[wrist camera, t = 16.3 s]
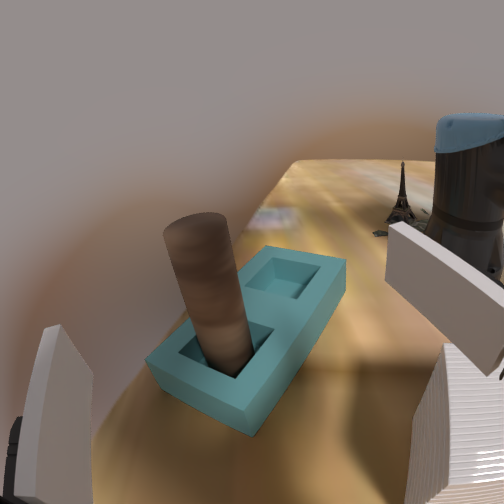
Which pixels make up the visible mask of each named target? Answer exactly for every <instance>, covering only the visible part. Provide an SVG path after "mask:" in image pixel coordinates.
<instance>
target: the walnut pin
mask: <svg viewBox="0 0 504 504" xmlns="http://www.w3.org/2000/svg"><path fill="white" fill-rule="evenodd" d="M163 237H164V241H165V244H166V247H167V250H168V253H169V257H170V260H171V263H172V266H173V269H174V272H175V275H176V278H177V281H178V284H179V287H180V290H181V293H182V296H183V299H184V302H185V305H186V308H187V310H188V313H189V316H190V319H191V322H192V324H193V327H194V330H195V333H196V335H197V338H198V341H199V343H200V346H201V349H202V351H203V354H204V356H205V359H206V362H207V364H208V367H209V368H211V369H213V370H216V371H218V372H220V373H222V374H225V375H227V376H229V377H232V378H234V379H236V378H237V377H238V375H239V374H240V373H241V372H242V370H243V369H244V368H245V367H246V365H247V364H248V363H249V362H250V360H251V359H252V358H253V357H254V355H255V351H254V347H253V343H252V338H251V334H250V329H249V325H248V320H247V315H246V311H245V306H244V302H243V297H242V292H241V288H240V283H239V278H238V274H237V269H236V264H235V260H234V255H233V250H232V245H231V241H230V236H229V231H228V226H227V221H226V218H225V217H224V216H223V215H221V214H219V213H212V212H210V213H209V212H207V213H199V214H193V215H190V216H186V217H183V218H181V219H179V220H177V221H175V222H173V223H171V224H170V225H169V226H168V227H167V228H166V229H165V230H164V232H163Z"/></svg>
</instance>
